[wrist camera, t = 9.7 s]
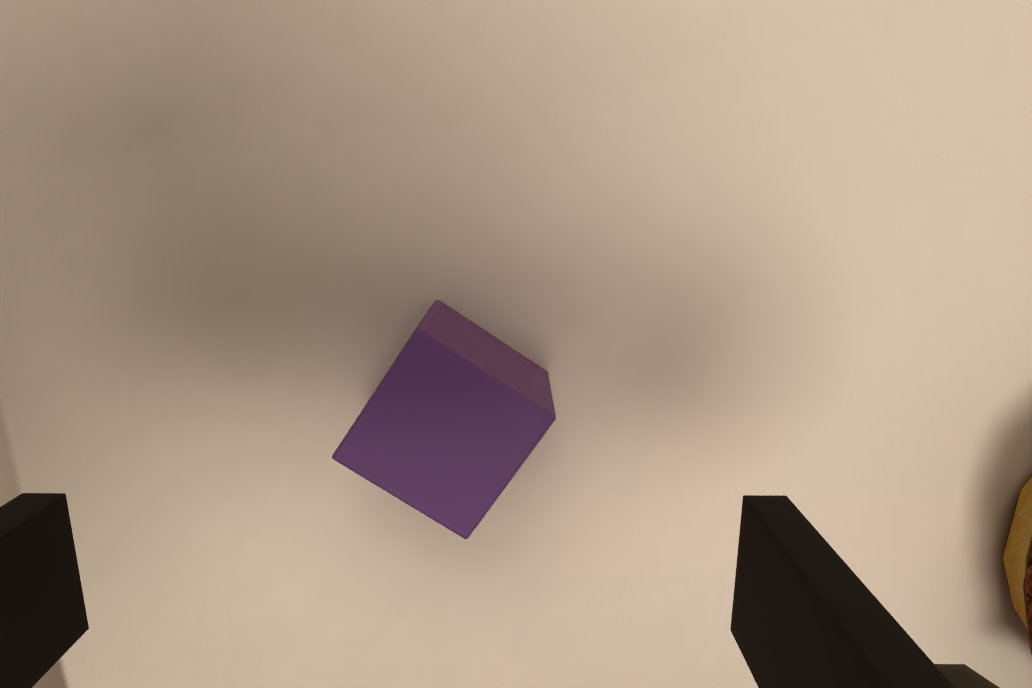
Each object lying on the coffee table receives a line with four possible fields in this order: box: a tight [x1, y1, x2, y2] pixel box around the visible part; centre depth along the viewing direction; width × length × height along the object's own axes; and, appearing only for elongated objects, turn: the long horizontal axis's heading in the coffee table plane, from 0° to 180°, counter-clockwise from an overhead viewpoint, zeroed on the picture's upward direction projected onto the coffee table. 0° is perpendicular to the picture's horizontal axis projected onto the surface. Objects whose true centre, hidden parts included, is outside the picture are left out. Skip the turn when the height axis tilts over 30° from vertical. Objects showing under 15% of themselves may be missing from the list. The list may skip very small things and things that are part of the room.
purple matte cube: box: [332, 300, 556, 539], centre depth 20 cm, size 4×4×4 cm
